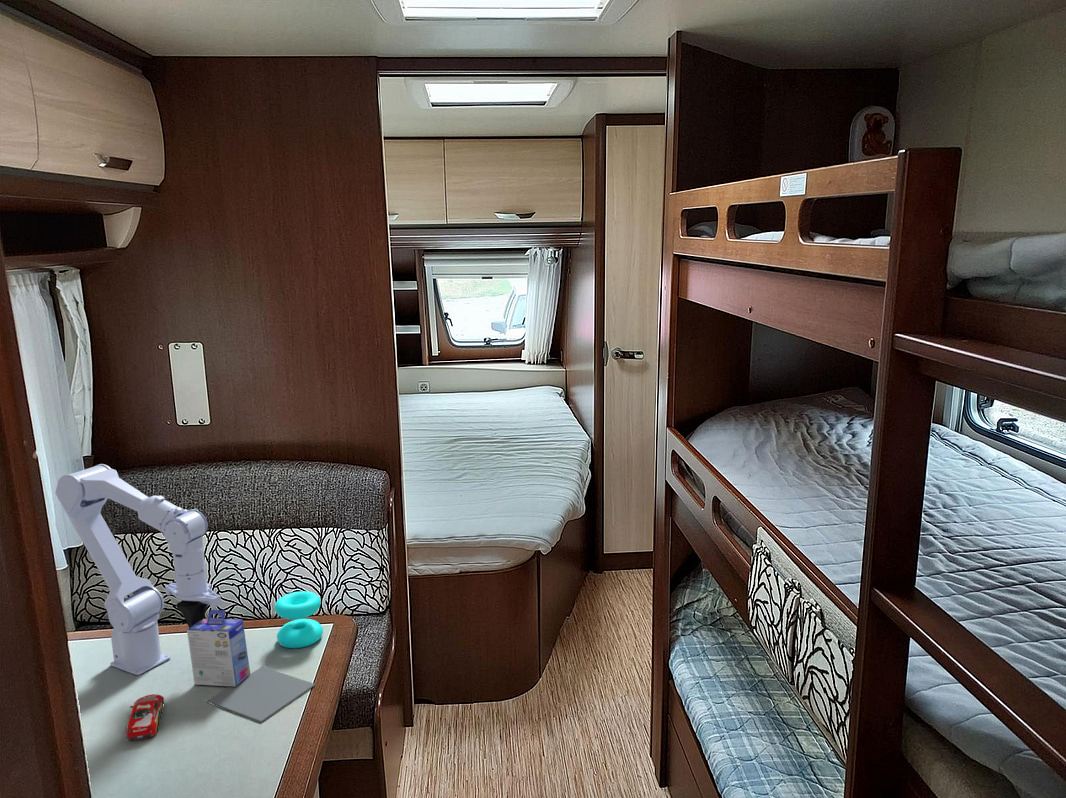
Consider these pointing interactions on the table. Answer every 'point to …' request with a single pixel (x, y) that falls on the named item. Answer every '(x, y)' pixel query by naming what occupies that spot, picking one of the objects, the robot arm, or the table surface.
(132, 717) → the race car
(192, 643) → the ink cartridge box
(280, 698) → the mat
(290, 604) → the donuts
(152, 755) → the table surface
